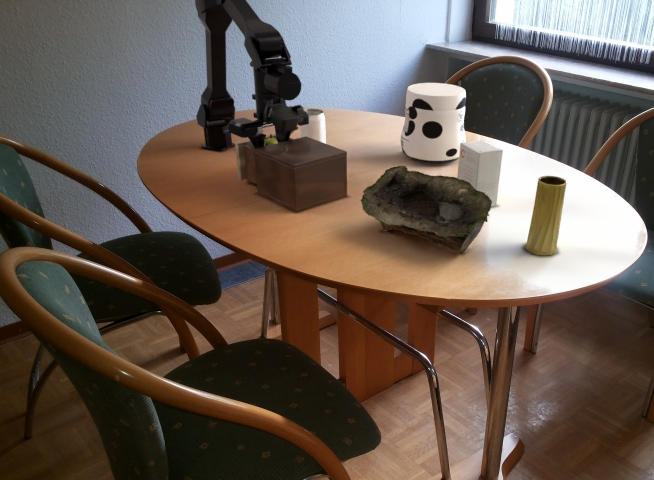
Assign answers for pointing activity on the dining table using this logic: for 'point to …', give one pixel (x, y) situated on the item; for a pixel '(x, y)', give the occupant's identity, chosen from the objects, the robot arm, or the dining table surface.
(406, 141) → the milk container
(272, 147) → the cabinet
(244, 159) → the drawer
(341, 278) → the dining table surface
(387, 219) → the grey rough hollow block
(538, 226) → the vase
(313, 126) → the can
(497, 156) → the small box
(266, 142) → the pear
